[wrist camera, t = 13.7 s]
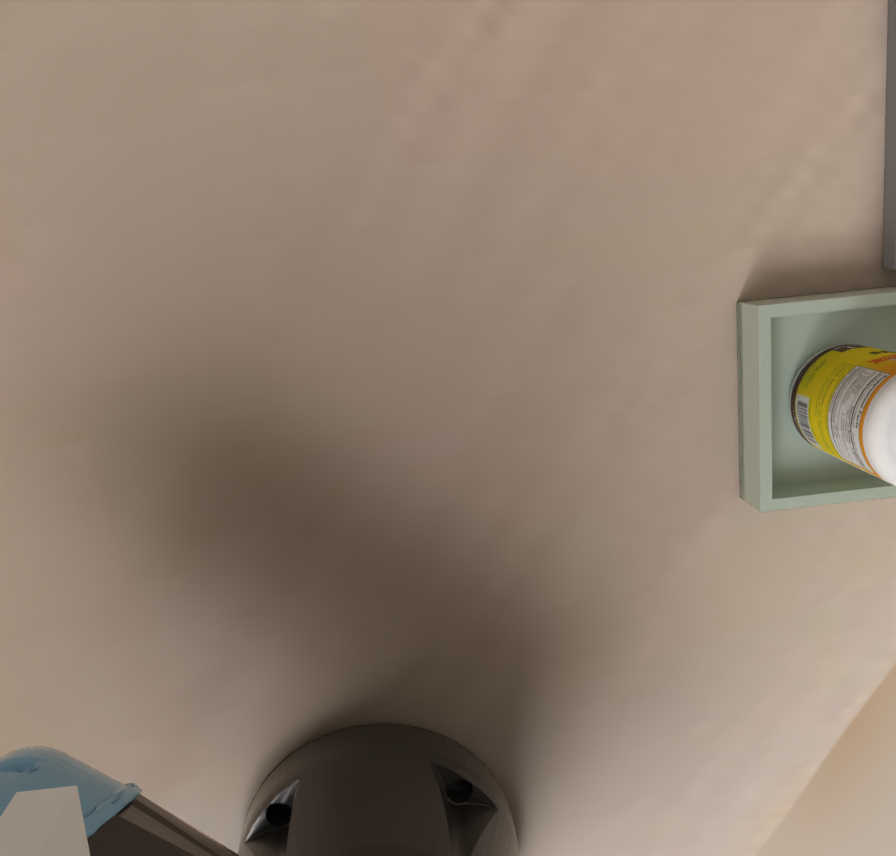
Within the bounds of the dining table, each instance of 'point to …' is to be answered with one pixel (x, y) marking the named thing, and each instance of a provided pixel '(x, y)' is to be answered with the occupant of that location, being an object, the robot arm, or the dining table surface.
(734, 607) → the dining table surface
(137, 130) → the dining table surface
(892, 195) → the twin cylinder holder
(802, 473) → the tray
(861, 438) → the supplement bottle
